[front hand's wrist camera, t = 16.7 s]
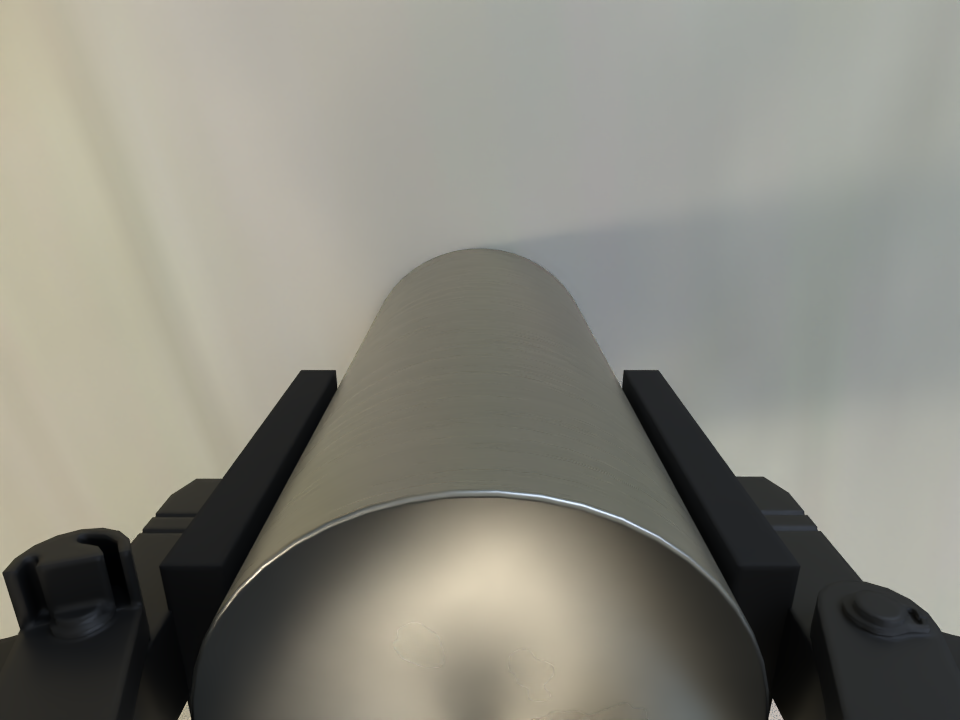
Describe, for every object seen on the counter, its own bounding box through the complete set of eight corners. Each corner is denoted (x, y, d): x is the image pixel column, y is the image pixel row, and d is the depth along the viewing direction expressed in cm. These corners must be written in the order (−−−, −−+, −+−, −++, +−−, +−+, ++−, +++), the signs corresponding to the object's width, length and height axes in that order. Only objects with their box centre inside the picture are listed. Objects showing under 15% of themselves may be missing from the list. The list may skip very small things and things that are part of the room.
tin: (386, 459, 19) (253, 934, 8) (356, 257, 17) (116, 516, 6) (590, 444, 19) (751, 909, 8) (585, 239, 17) (797, 467, 6)
